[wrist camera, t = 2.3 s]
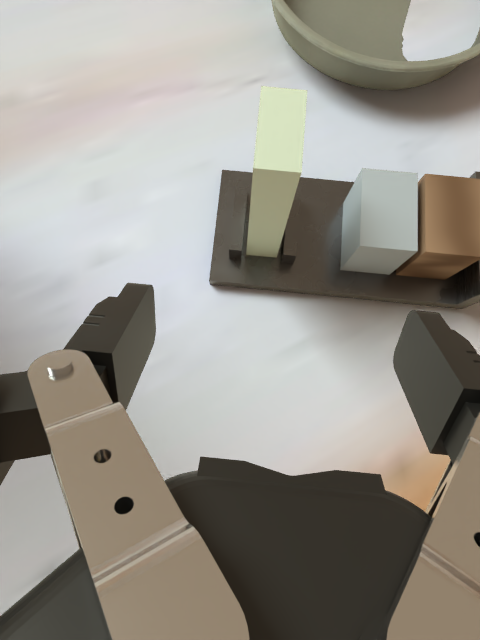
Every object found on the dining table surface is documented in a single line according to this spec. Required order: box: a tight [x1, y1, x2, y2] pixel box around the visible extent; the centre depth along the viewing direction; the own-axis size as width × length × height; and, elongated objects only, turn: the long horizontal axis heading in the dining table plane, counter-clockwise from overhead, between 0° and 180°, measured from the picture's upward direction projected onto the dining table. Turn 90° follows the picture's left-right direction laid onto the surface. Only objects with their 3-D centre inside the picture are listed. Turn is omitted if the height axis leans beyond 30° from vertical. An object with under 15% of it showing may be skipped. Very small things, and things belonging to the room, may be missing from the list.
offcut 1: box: [340, 168, 418, 275], centre depth 30 cm, size 4×6×5 cm, turn 174°
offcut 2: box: [396, 174, 480, 280], centre depth 30 cm, size 4×6×5 cm, turn 174°
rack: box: [209, 170, 480, 309], centre depth 31 cm, size 21×10×4 cm, turn 84°
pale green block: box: [246, 86, 307, 258], centre depth 26 cm, size 2×5×12 cm, turn 174°
